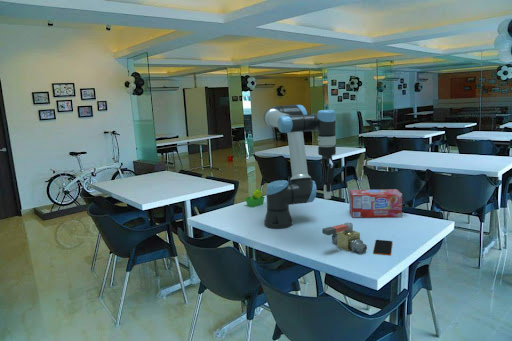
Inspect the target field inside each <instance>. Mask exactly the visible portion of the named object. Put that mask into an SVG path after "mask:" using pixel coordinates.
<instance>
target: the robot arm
mask: <svg viewBox="0 0 512 341" xmlns="http://www.w3.org/2000/svg"><path fill="white" fill-rule="evenodd" d="M336 118H337V117H336V111H335V110H334V109H321V110H318V111H317V113H312V114H308V111H307V109H306V108H305V106H304V105H302V104H287V105H285V104H284V105H275V106H271V107H269V108H268V109H267V110H266V111H264V114H263V122H264V124H265V125H266V126H268V127H269V128H278V131H279V132H280V133H282V134H287V141H288V143H287V144H288V152H289V158H290V159H289V160H290V169H291V177H290V178H289V181H288V180H286V179H285V180H284V179H282V180H274V181H271V182H270V183H268V184H266V191H265V194H266V195H265V196H266V214H265V217H264V222H263V223H264V224H263V225H264V227H266V228H268V229H276V230H277V229H279V230H280V229H287V228H289V227H291V226H293V218H292V215H291V212H290V209H289V208H290V207H289V206H290V205H301V204H309V203H313V202H314V200H315V199H316V196H317V184H316V181H315V180H312V177H311V175H309V173H308V172H309V171H308V165H307V163H308V162H307V156H306V155H307V154H306V146H305V138H304V132H314V131H315V132H316V131H317V139H316V140H317V141H318V142H317V144H318V148H317V150H318V151H317V152H318V155H319V156H321V159H320V160H319V164H320V173H321V181H322V183H323V199H325V200H327V199H332V184H333V183H334V172H335V167H336V163H334V160H333V156H335V155H336V153H337V152H336V150H337V149H336V143H337V141H336V140H337V135H336V124H337V122H336V120H337V119H336Z"/></svg>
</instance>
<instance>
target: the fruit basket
mask: <svg viewBox="0 0 512 341" xmlns="http://www.w3.org/2000/svg"><path fill="white" fill-rule="evenodd" d="M265 197H266V196H264V195H262V191H261V189H260V188H256V189H255V190H254V191H253V193H252V196H249V197H245V198H244V199H245V200H244V201H245V203H246V205H247V207H251V208H255V207H258V206H263V205H264V201H265V199H266V198H265Z"/></svg>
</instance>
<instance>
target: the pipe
mask: <svg viewBox="0 0 512 341" xmlns="http://www.w3.org/2000/svg"><path fill="white" fill-rule="evenodd" d="M331 241H332V242H334V245H336V246H337V247H338V248H339V249H342V250H344V251H345V252H352V253H354V254H355V253H358V254H361V255H363V254H365V253H366V252H367V249H368V247H367V244H366V243H364V242H363V240H362V239H361V233H360V232H358V231H356V230H353V232H352V233H345V232H344V231H341V232H337V233H335V234H331Z"/></svg>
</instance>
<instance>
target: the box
mask: <svg viewBox="0 0 512 341" xmlns="http://www.w3.org/2000/svg"><path fill="white" fill-rule="evenodd" d="M348 194H349V198H348V199H349V214H350V215H351V217H352V218H353V219H354V218H355V219H363V218H365V219H366V218H369V219H371V218H372V219H373V218H374V219H375V218H378V219H380V218H381V219H384V218H385V219H386V218H390V219H391V218H393V219H394V218H396V219H397V218H402V217H403V193H402V192H401V191H400V190H399V189H396V188H393V189H392V188H391V189H389V188H388V189H386V188H385V189H382V188H381V189H349V193H348Z"/></svg>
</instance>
